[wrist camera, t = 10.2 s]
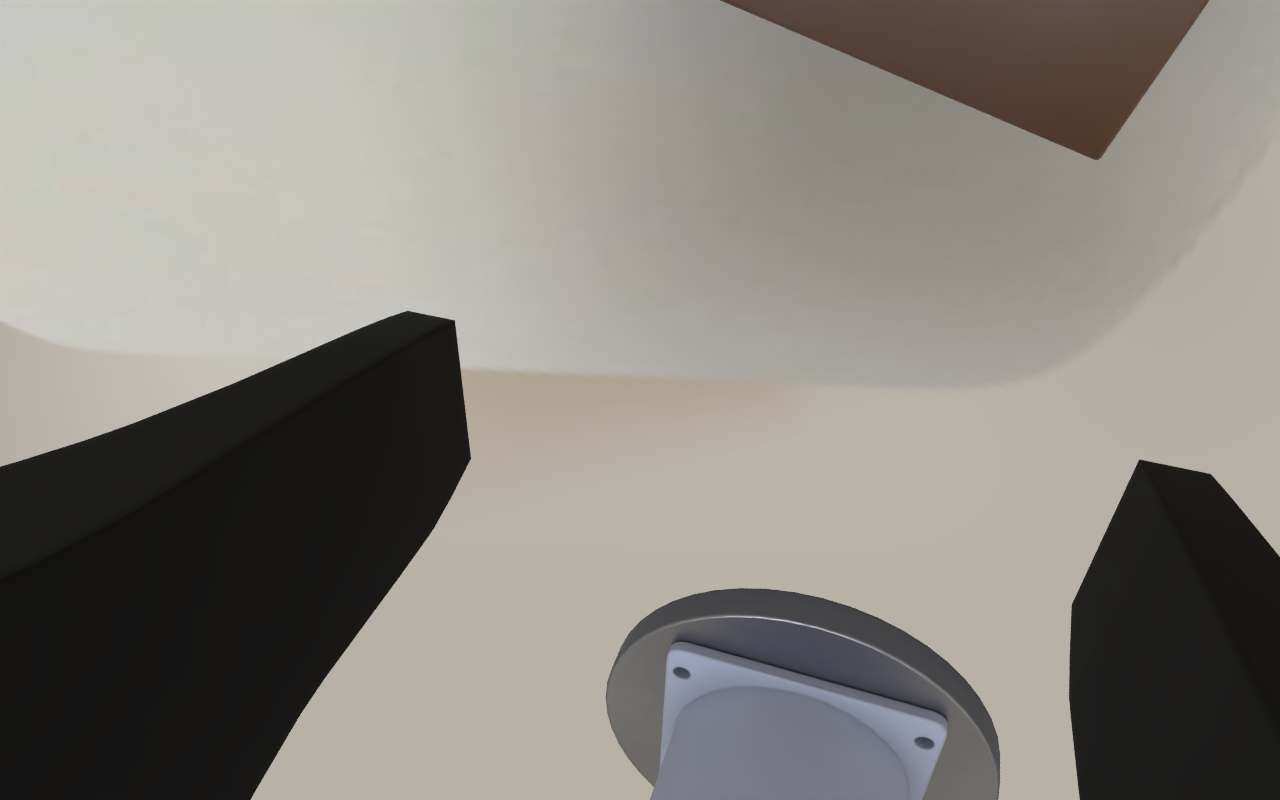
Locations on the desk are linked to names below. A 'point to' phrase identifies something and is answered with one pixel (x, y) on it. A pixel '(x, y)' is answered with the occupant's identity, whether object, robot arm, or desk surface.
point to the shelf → (1009, 53)
